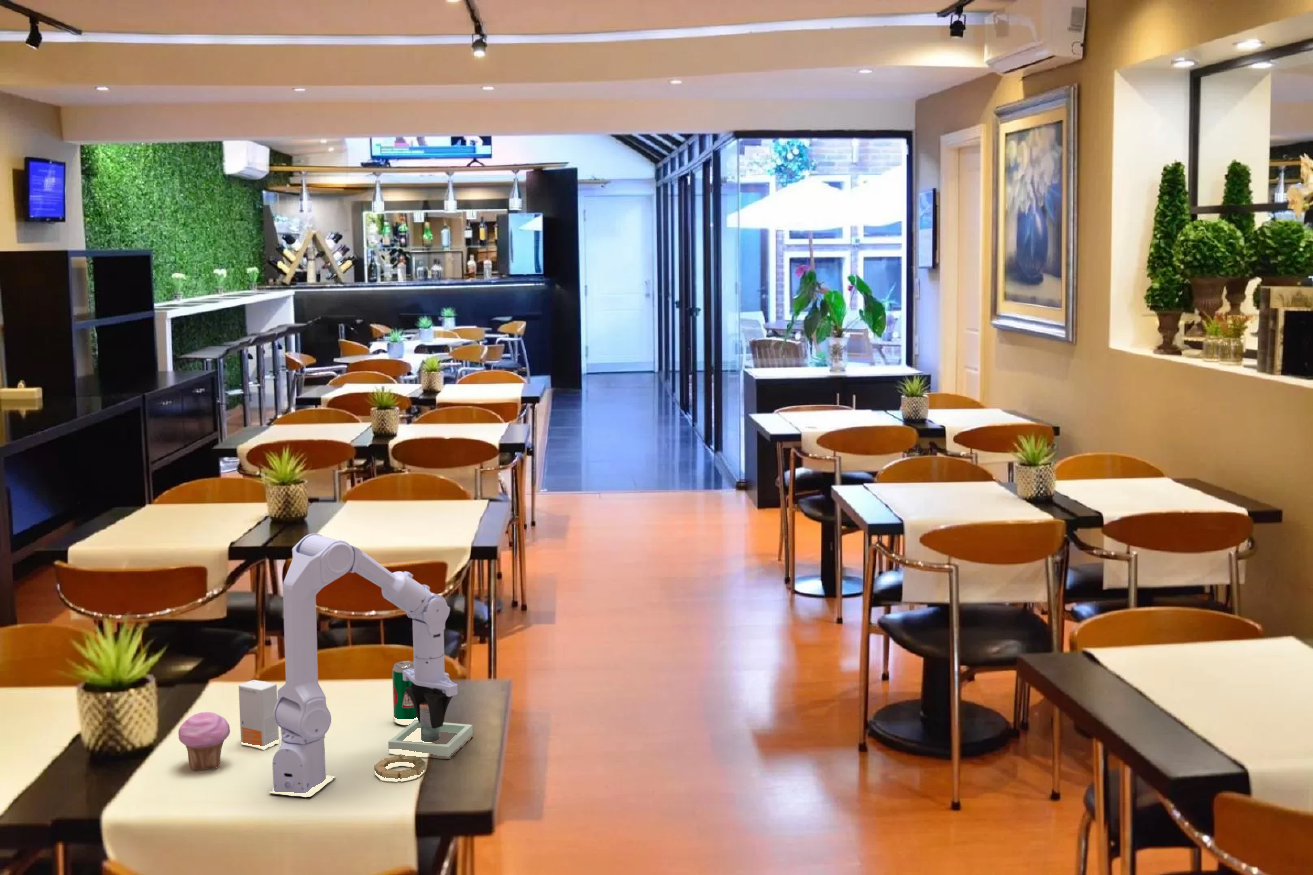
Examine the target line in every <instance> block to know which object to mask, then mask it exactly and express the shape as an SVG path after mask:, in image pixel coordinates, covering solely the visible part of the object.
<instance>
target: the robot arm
mask: <svg viewBox="0 0 1313 875" xmlns="http://www.w3.org/2000/svg"><path fill="white" fill-rule="evenodd" d="M291 552H292V553H291V554H292V560H291V563H290V565H289V568H288V569H287V573H286V575H285V578H284V580H283V584H282V596H283V597H282V598H283V600H282V602H283V603H282V604H283V632H284V634H283V636H284V663H285V664H284V666H285V667H284V668H285V669H284V670H285V683H284V684H283V685H282V686H281V687H280V688H279V689H277V703H276V705H275V708H274V712H273V717H274V720H275V722H276V724H277V725H278V728H280V734H281V742H280V746H279V748H278V750H277V751H276V752H275V753H274V755H273V756H272V757H273V758H272V780H273V782H272V783H273V788H274V791H275V792H294V793H306V792H308V791H309V790H310V789H311V788H312V787H315V786H316V785H318V784H320V783H322V782H323V781H324V780H325V779H326V775H327V774H326V755H325V753H326V752H325V749H326V748H325V738H326V734H327V733H328V731H329V729H330V727H331V724H332V714H331V712H330V709H329V708H328V706H327V698H326V694H325V692H324V691H323V689H322V687H321V686H320V683H319V670H318V669H319V667H318V663H319V662H318V635H317V634H318V633H317V632H318V630H317V628H318V625H317V594H319V592H320V591H321V590H322V589H323V588H324V587H326V586H327V585H330V584H331V583H332V582H334V581H337V580H338V579H339V578H341V577H343V576H344V575H345V574H347V573H351V574H354V573H355V574H357V575H359V576H360V577H363V578H364V579H366V580H368V581H370V582H371V583H373V585H374V584H375V585H376V586H377V587H379V588H381V595H382V597H383V599H384V600H385V599H386V600H387V601H388V602H390V603H391V604H393V605H394V606H396V607H397V608H398V609H401V610H402V611H404V612H405V613H406V614H405V615H406V616H407V617H408V618H409V619H412V641H413V642H412V645H413V647H412V650H413V662H414V669H407V670H403V680H404V681H412V684H411V686H409V687H406V692H407V693H408V695H409V696H410V698H411V700H412V702H413V705H414V708H415V711H416V714H417V718H418V721H419V723H420V702H422V701H425V700H426V701H427V704H428V707H429V712H430V721H431V726H432V728H434V729H435V728H438V727H441V726H443V722H444V721H445V718H446V713H447V709H448V706H449V704H450V702H451V700H452V698H453V696H457V695H458V684H457V683H454V682H453V681H452V680H451V679H450V674H449V673H448V672H445V666H446V664H445V630H446V621H447V620H448V617H449V616H450V612H451V607H450V606H449V605H448V602H446V601H447V600H446V599H445V598H444V596H442V595H441V594H437V593H434V592H431V590H430V589H431V587H430V586H429V585H427V584H421V583H419V582H418V581H416V580H415V579H414V578H413V577H414V574H412V573H411V572H409V571H400V570H399V571H394V572H392V571H390V570H389V569H388V568H386V567H384V566H383V565H382V564H381V563H379V562H378V561H376V560H375V559H374V558H373V557H371V556H370V555H369V554H367V553H366V552H365V551H363V550H361V549H360V548H359V547H356V546H354V545H351V544H350V543H349V542H347V541H345V540H341V539H334V538H331V537H327V536H324V535H322V534H319V533H309V534H307V535H305V536H304V537H303V538H301V539H300V540H299V541H298V542H297V543H296V544H295V545H294V546H293V547H292V549H291ZM444 723H445V722H444Z"/></svg>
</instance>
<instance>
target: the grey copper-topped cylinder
mask: <svg viewBox="0 0 1313 875" xmlns="http://www.w3.org/2000/svg"><path fill="white" fill-rule="evenodd" d="M420 725H421V740H422V741H424V742H434V741H437V740H439V739H440V727H438V728H435V729H434V728H432V726H431V721H430V712H429V707H428V704H427V701H426V700H425V701H422V702H420Z"/></svg>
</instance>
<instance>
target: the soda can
mask: <svg viewBox="0 0 1313 875" xmlns="http://www.w3.org/2000/svg"><path fill="white" fill-rule="evenodd" d="M407 669H414V661H413V660H401V661H398V662H395V663H394V664H393V668H392V669H391V670H392V671H391V672H392V699H393V700H392V702H393V703H392V704H393V705H392V706H393V718H394V717H395V718H397V719H414V718H416V717H417V714H416V711H415V708H414V705H413V702H412V700H411V698H410V696H409V695H408V693H407V692H406V687H409V686H411V684H412V681H404V680H403V670H407Z"/></svg>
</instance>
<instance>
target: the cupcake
mask: <svg viewBox="0 0 1313 875" xmlns="http://www.w3.org/2000/svg"><path fill="white" fill-rule="evenodd" d="M177 734H178V740H179V741H180V743H181V744H183V745H184V746H185V748H186V749H187V751H186V752H187V755H188V756H187V757H188V758H187V759H188V765H189V767H190V769H191V770H193V771H200V770H208V769H209V770H210V768H214V769H217V768H216V767H218V766H219V767H220V764H221V763H220V762H221V754H222V749H223V744H224V742H225V740H226V739H228V737H229V736H230V734H231V728H230V724H229V723H228V721H227V719H226V718H225V717H223V716H221V715H219V714H217V713H215V712H210V711H209V712H208V711H206V712H205V711H204V712H199V713H195V714H193V715H191V716H189V717H188V718H187V719H186V720H185V721H184V722H182V723H181V725H180V726H179V728H178V733H177ZM219 767H218V768H219Z"/></svg>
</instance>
